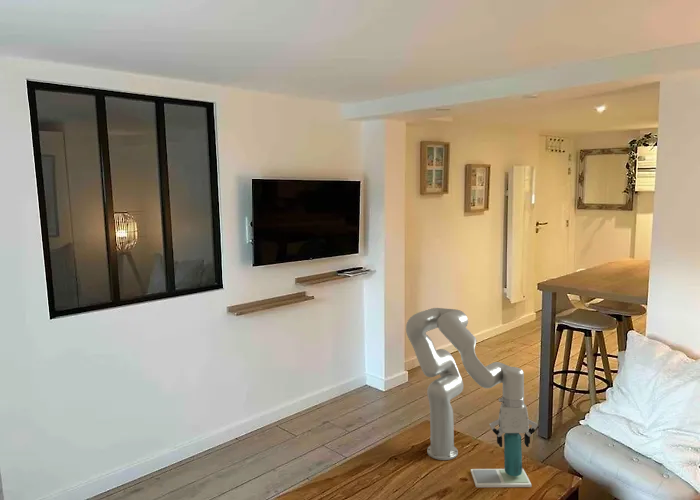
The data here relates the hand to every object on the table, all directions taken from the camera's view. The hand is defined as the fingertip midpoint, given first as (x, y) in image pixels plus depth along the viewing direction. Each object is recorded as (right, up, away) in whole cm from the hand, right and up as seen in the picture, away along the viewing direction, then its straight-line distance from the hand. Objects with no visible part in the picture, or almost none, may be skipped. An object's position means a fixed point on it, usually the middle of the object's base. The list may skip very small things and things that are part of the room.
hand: (513, 445), depth 193 cm
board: (-4, -13, +2) cm, 14 cm away
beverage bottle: (0, -12, +1) cm, 12 cm away
